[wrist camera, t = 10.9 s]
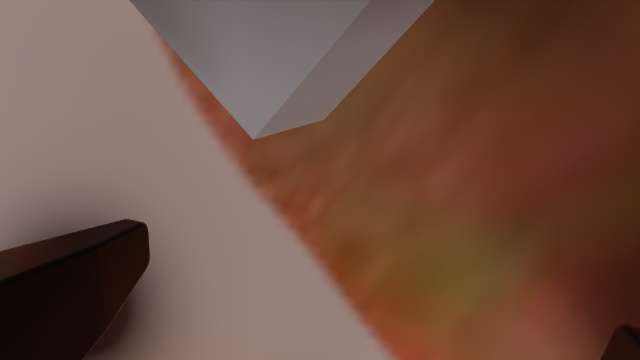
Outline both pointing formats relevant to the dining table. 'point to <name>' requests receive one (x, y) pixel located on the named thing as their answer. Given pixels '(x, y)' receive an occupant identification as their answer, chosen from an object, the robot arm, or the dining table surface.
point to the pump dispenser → (280, 51)
